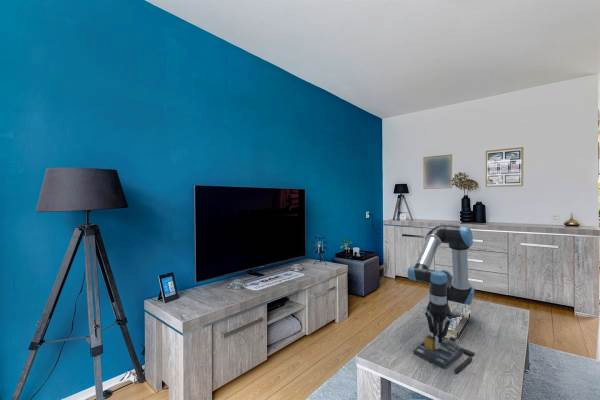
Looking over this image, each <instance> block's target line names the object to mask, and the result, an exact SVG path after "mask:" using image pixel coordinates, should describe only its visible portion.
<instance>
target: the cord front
mask: <svg viewBox="0 0 600 400" xmlns="http://www.w3.org/2000/svg"><path fill="white" fill-rule="evenodd" d="M442 341H445V342H447V340H445V339H443V338H442ZM459 348H461V351H462V354H465V355H468V356H469V357H471V358H473V357H474V356H475V352H474V351H472V350H469V349H467V348H465V347H462V346H459Z"/></svg>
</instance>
